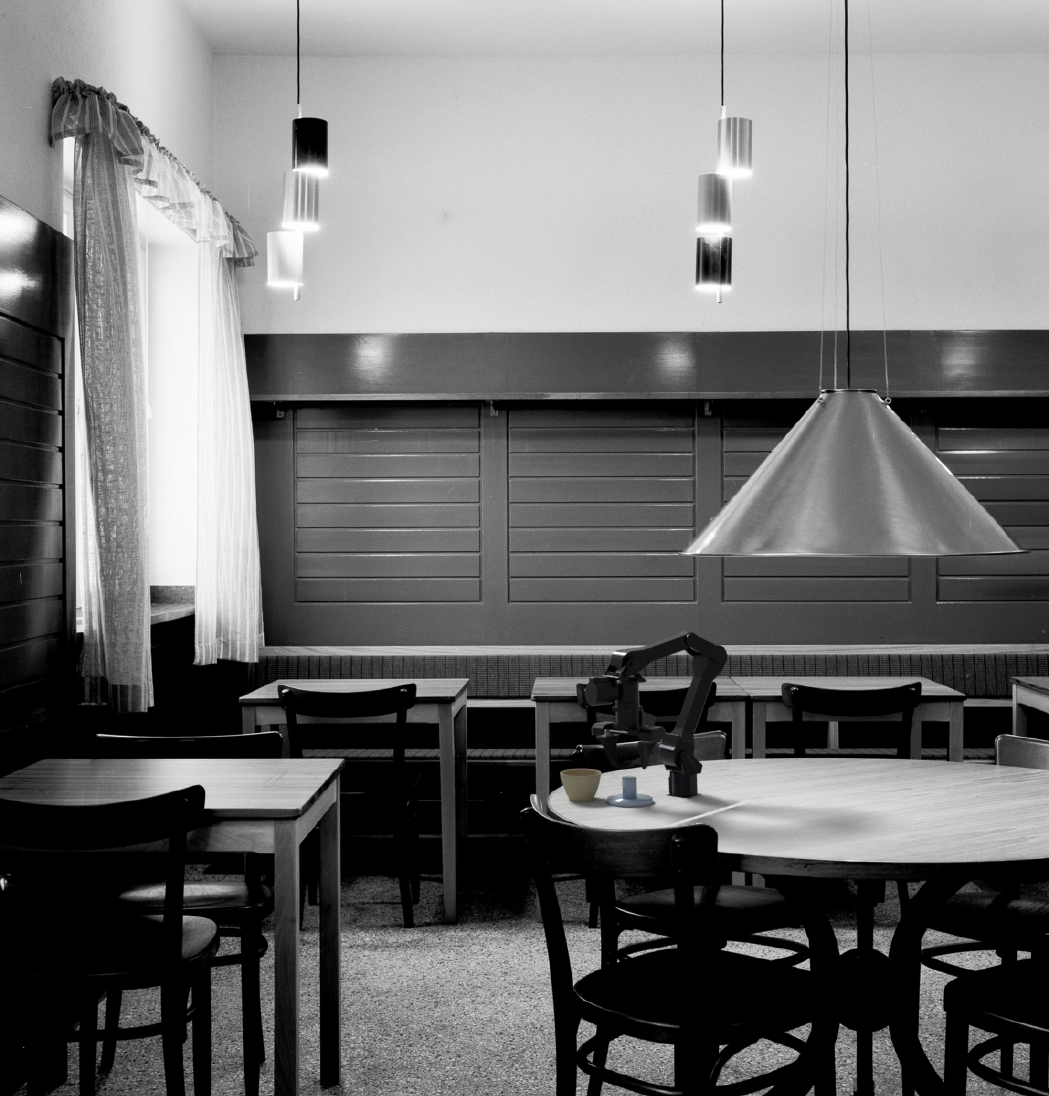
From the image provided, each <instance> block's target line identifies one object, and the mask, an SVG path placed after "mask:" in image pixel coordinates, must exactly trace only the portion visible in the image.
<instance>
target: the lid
mask: <svg viewBox="0 0 1049 1096" xmlns="http://www.w3.org/2000/svg"><path fill="white" fill-rule="evenodd" d="M621 781H622V783H621V785H622V788H621V789H622V793H618V794H613V795H609V796H608V797H606V804H607V805H609V806H612V807H618V808H640V807H641V808H642V807H648V806H651V805H652V804H654V803H653V802H654V798H653V796H651V795H650V794H643V793H637V792H638V791H637V790H638V789H637V776H635V775H626V776H622V777H621Z"/></svg>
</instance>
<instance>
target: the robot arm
mask: <svg viewBox="0 0 1049 1096" xmlns="http://www.w3.org/2000/svg"><path fill="white" fill-rule="evenodd" d="M682 651H684V652H685V653H686V654H687V655H689V657H692V661H691V664H692V665H691V666H692V674H693V676H692V678H691V681H690V684H689V688H688V690H687V693H686V695H685V699H684V701H683V704H682V707H681V710H680V713H679V716H678V718H677V721H676V724H675V727H674V729H673V730H671V732H666V729H665V728H664V727H663V726H656V725H655V723H656V715H653V714H650V713H648V712H644V711H645V710H644V707H643V705H640V690H639V689H640V683H641V684H643V683H647V679H646V678H645V677H643V676H642V674H641V673H640V672H642V671H644V670H645V669H646V668H648V666H649V665H650V664H652V663H653V662H655V661H659V660H662V659H664V658H667V657H669V656H671V655H675V654H677V653H679V652H682ZM728 658H729V655H728V653H727V650H726V648H725V647H724V646H723V645H720V644H715V643H713V642H711V641H709V640H708V639H707V640H706V639H704V638H703V637H701V636H699V635H698V634H696V632H695V633H694V632H692V631H683V630H682V631H680V632H678V633H677V634H674V635H671V636H669V637H665V638H663V639H660V640H657V641H655V642H651V643H649V644H647V645H643V646H639V647H628V648H623V649H616V650H615V651H613V652H612V654H611V656H610V660H609V663H608V664H607V666H606V667H605V670H604V671H603V673H602V675H601V676H588V683H586V685H585V689H584V698H585V700H586V703H587V704H588V705H589V706H591V707H594V706H604V705H613V704H614V703H615V706H612V707H611V709H612V710H611V711H612V712H615V721H609V720H605V721H600V722H595V723H594V724H593V725H592V727H591V735H592V736H595V737H596V740H599V742H600V744H601V746H602V747H603V749H604V750H605V753H606V755H607V757H608V759H609V761H610V763H611V765H612V766H616V765H617V763H618V761H617V760H618V746H617V745H618V743H617V742H618V740H619V738H620V736H621V735H623V736H624V735H625V736H634V737H638V739H639V741H637V747H638V754H639V761H640V765H641V769H642V770H647V768H648V764H649V761H650V758H651V756H652V753H653V750H654V747H656V745H657V744H658V743H660V744H659V745H658V747H657V748H658V749H659V752H658V756H659V758H660V760H661V762H662V763H663V765H664V768H665V770H666V771H668V772H669V773H668V774H669V775H668V778H667V779H668V781H667V782H668V794H666V796H668V797H673V798H680V799H691V798H693V797H697V796H700V795H702V793H699V791H698V774H701V773H702V770H703V764H702V762H701V761H699V760H698V759H697V758H696V757H695V749H696V744H695V732H696V729H697V727H698V723H699V721H700V718H701V715H702V713H703V709H704V705H705V704H706V700H707V698H708V695H709V693H710V689H711V686H712V684H713V682H714V680H715V679H716V678H717V677H718V676H719V675H720V674H721V673H722V672H723V670H724V668H725V666H726V665H727V662H728V660H729V659H728Z"/></svg>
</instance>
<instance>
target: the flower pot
mask: <svg viewBox="0 0 1049 1096" xmlns="http://www.w3.org/2000/svg"><path fill="white" fill-rule="evenodd" d="M601 777H602V772H601V770H597V769H591V768H590V769H589V768H572V769H565V770H562V771H561V772H560V779H561V784H562V786H563V789H564V791H565V794H566V795H567V798H568V799H569V800H570V801H572V802H580V803H581V802H589V801H592V800H594V798H595V795H596V793H597V792H598V789H599V786H600V782H601Z"/></svg>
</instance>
